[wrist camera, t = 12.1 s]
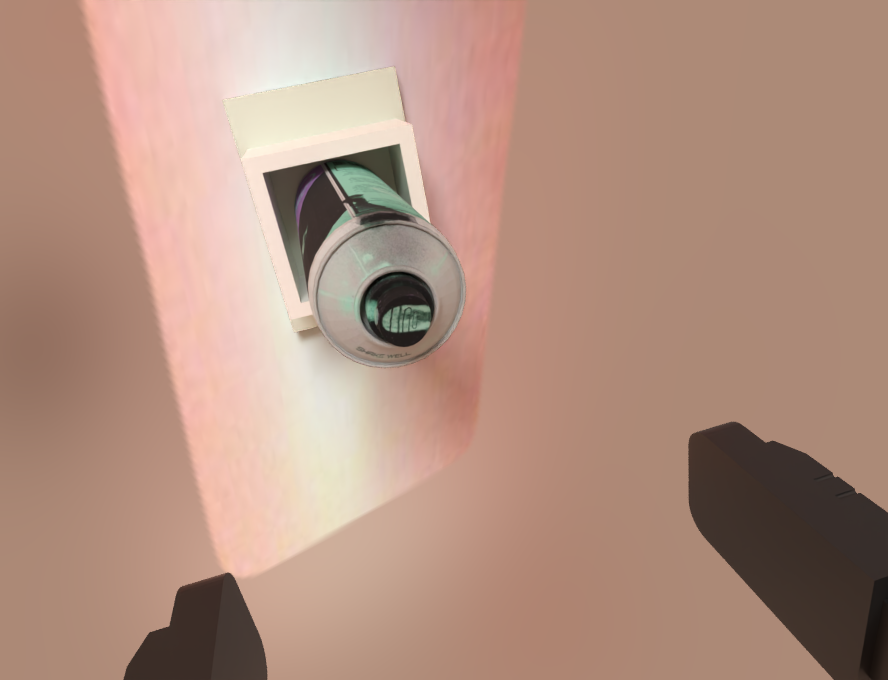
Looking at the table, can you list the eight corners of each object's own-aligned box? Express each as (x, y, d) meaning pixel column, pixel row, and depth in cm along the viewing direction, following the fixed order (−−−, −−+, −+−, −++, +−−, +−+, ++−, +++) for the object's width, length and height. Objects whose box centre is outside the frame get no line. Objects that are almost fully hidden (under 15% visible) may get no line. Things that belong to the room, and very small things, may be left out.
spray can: (276, 185, 35) (277, 290, 17) (360, 141, 35) (447, 199, 18) (323, 266, 38) (367, 431, 20) (401, 225, 38) (516, 350, 20)
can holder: (224, 99, 34) (212, 103, 29) (391, 66, 35) (410, 64, 30) (293, 325, 40) (295, 365, 34) (434, 290, 41) (457, 323, 36)
